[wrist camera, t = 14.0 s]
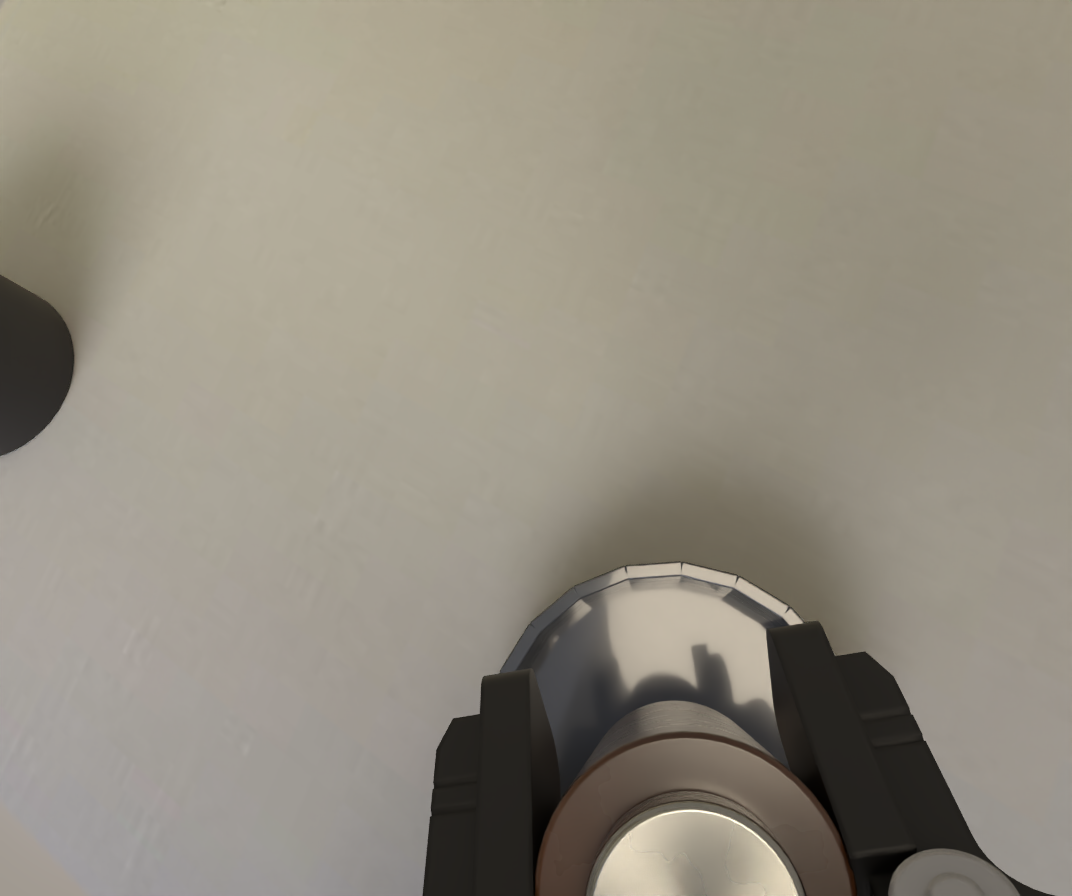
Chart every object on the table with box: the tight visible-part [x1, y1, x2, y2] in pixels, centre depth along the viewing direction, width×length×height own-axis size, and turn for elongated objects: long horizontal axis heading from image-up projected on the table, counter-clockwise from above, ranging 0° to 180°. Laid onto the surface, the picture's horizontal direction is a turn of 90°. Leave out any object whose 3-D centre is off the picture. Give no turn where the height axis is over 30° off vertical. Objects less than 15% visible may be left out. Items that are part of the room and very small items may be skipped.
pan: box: [499, 561, 805, 798], centre depth 25 cm, size 10×10×3 cm
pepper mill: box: [534, 701, 858, 896], centre depth 12 cm, size 3×3×8 cm
